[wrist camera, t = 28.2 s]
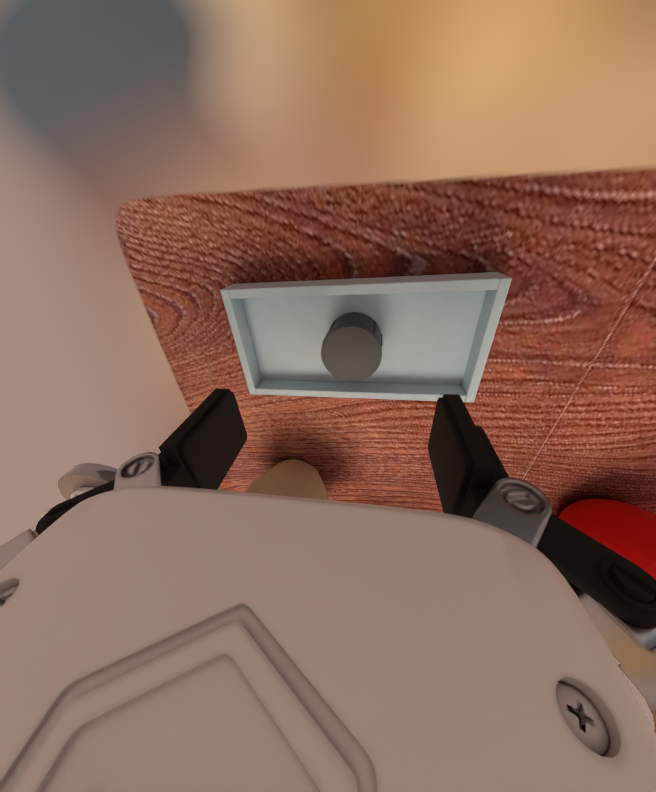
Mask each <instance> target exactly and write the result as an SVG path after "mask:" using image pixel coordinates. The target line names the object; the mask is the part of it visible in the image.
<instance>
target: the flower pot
mask: <svg viewBox="0 0 656 792" xmlns="http://www.w3.org/2000/svg"><path fill="white" fill-rule="evenodd" d="M245 492H247V493H258V494H269V495H280V496H291V497H302V498H312V499H323V500H328V496H327V493H326V489H325V486H324V484H323V481H322V479H321V477H320V475H319V473H318V471H317V470H316V469H315V468H314V467H313V466H312V465H310V464H308V463H306V462H304V461H301V460H295V459H290V460H285V461H282V462H280V463H279V464H277V465H275V466H274V467H272V468H271V469H269V470H268V471H266V472H265V473H264V474H263V475H261V476H260V477H259V478H258V479H257V480H256V481H255V482H253V483H252V484H251V485H250V487H249V488H248V489H247V490H246V491H245Z"/></svg>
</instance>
